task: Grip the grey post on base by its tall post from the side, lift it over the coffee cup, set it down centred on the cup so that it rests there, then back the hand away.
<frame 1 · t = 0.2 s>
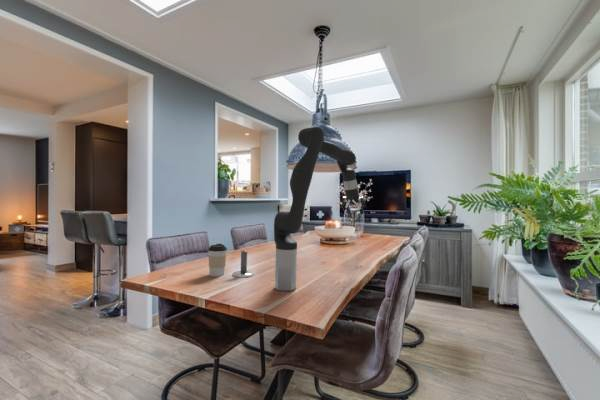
hand: (355, 213, 168), 31 cm above the table, tool tilted 20°, fingers open, 8 cm apart
coffee cup: (216, 275, 145), on the table
grey post on base: (243, 274, 146), on the table
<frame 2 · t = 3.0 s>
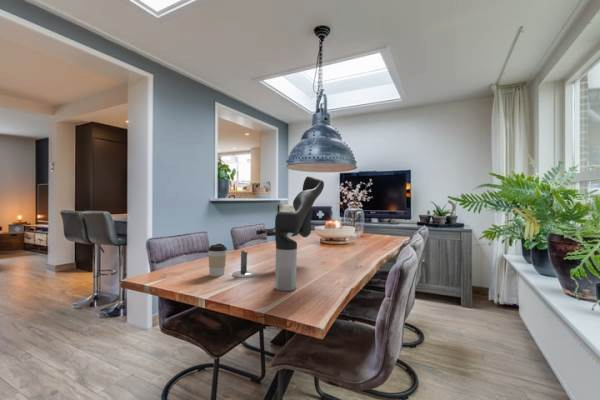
hand: (261, 233, 154), 20 cm above the table, tool horizontal, fingers open, 8 cm apart
nothing on the table moved.
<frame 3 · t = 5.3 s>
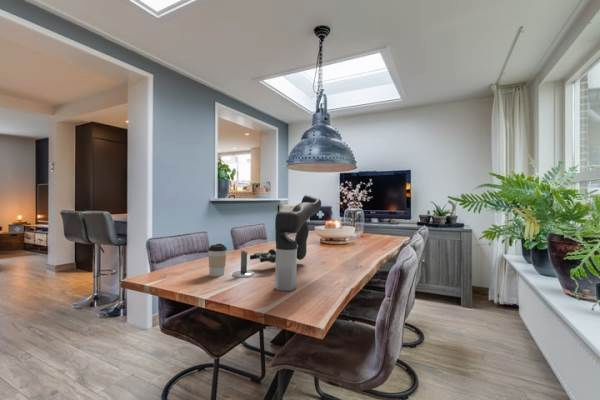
hand: (255, 258, 151), 7 cm above the table, tool horizontal, fingers open, 8 cm apart
nothing on the table moved.
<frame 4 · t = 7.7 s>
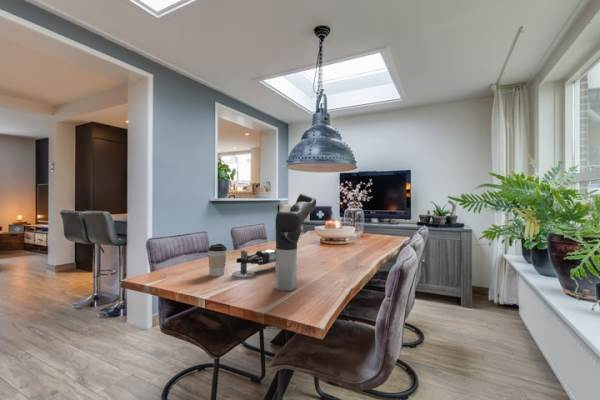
hand: (239, 261, 144), 7 cm above the table, tool horizontal, fingers closed on grey post on base, 3 cm apart
grey post on base: (243, 274, 146), on the table, touching gripper
everything else where it was.
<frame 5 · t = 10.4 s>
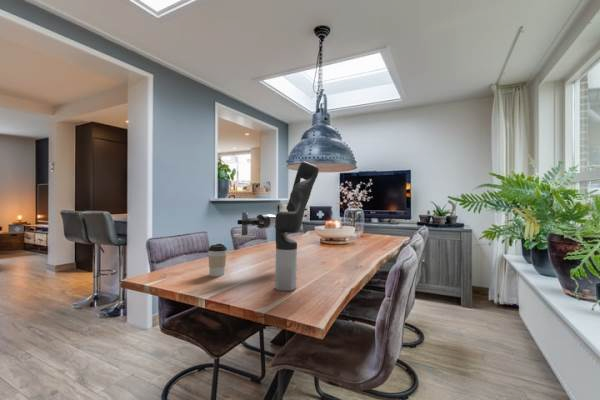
hand: (240, 222, 144), 26 cm above the table, tool horizontal, fingers closed on grey post on base, 3 cm apart
grey post on base: (244, 236, 146), point 19 cm above the table, touching gripper
everything else where it was.
when the fingers open (23 cm above the table, at t = 12.9 s): grey post on base drops 1 cm, resting on coffee cup.
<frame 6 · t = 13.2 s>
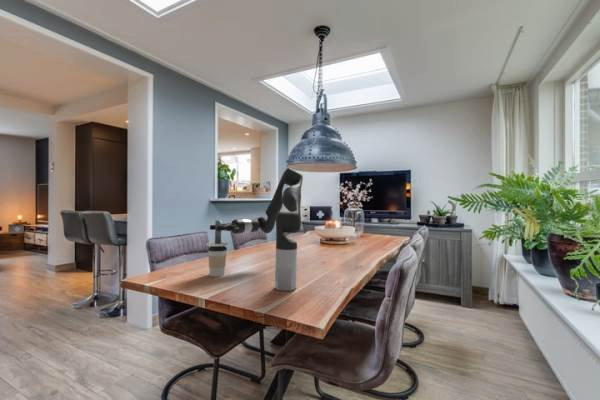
hand: (213, 228, 143), 24 cm above the table, tool horizontal, fingers open, 5 cm apart
coffee cup: (216, 275, 145), on the table, touching grey post on base
grey post on base: (217, 244, 145), point 15 cm above the table, touching coffee cup
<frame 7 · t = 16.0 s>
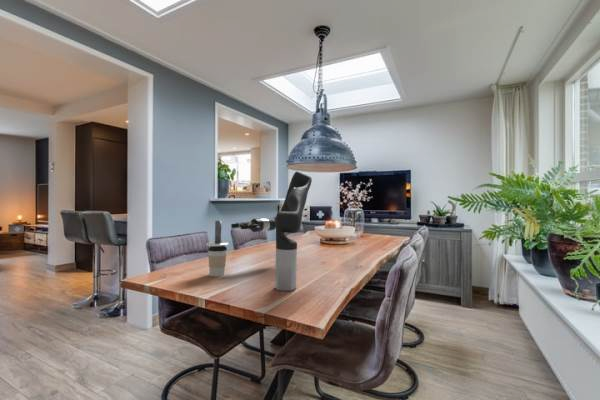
hand: (236, 226, 153), 24 cm above the table, tool horizontal, fingers open, 8 cm apart
nothing on the table moved.
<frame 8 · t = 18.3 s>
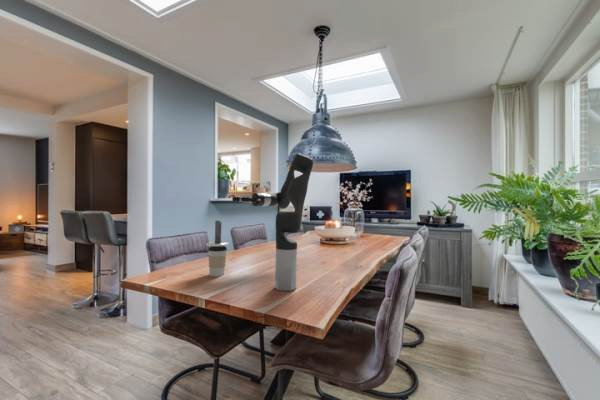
hand: (237, 199, 153), 38 cm above the table, tool horizontal, fingers open, 8 cm apart
nothing on the table moved.
at the end: grey post on base 0.1 cm off-centre on the coffee cup, point 15.2 cm above the coffee cup's base; grey post on base tilted 0°; the gripper is holding nothing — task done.
